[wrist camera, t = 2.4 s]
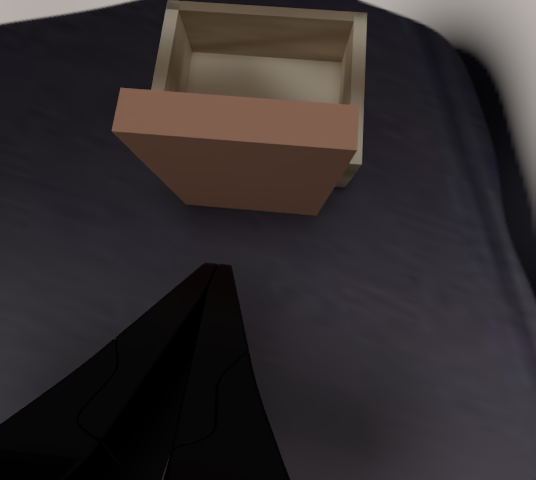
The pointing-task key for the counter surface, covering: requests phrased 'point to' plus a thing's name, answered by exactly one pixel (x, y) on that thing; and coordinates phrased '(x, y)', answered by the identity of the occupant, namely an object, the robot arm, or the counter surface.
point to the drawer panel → (240, 147)
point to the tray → (265, 56)
